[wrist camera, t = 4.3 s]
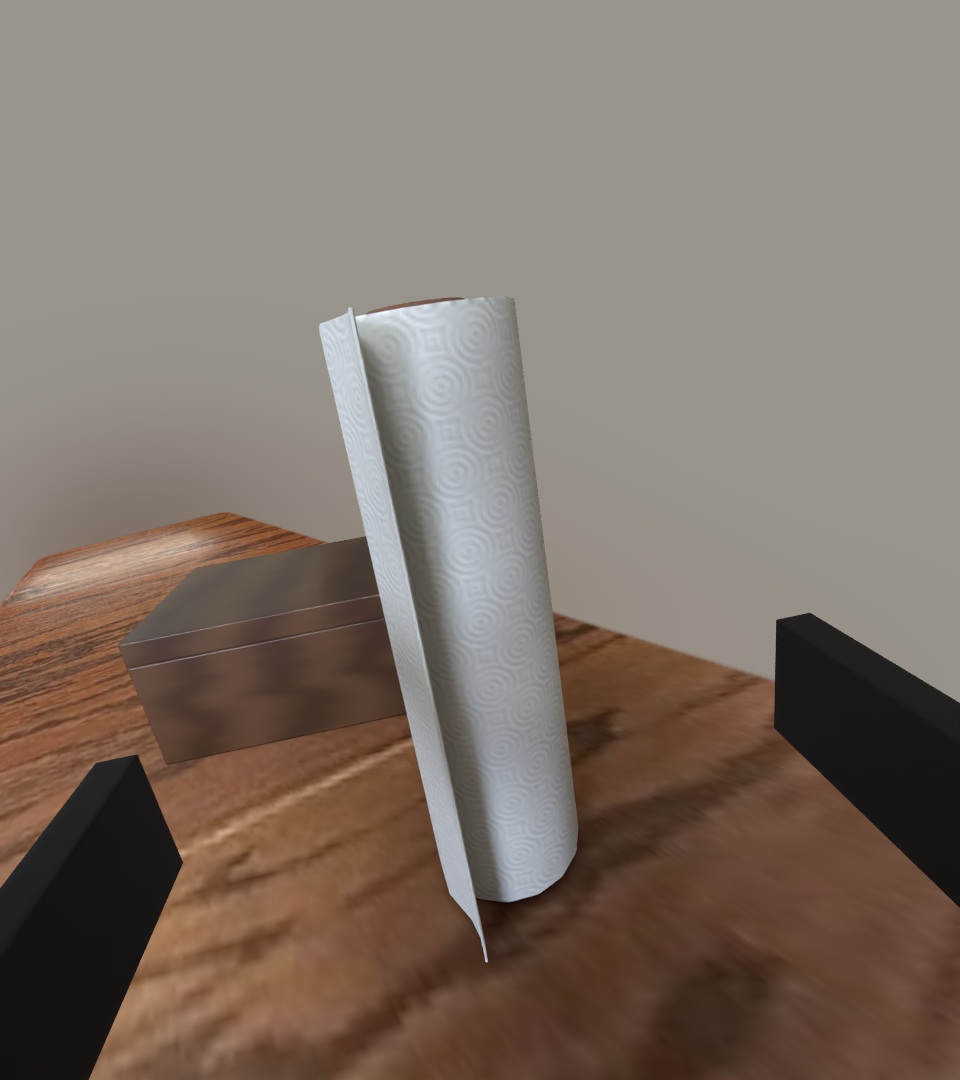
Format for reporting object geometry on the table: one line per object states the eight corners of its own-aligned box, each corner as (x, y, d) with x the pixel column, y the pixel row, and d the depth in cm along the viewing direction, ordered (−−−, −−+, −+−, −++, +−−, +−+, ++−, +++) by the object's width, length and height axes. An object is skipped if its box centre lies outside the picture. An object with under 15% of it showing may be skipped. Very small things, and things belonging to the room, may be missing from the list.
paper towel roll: (506, 769, 28) (430, 314, 21) (609, 831, 23) (554, 283, 17) (388, 868, 23) (244, 332, 17) (487, 967, 19) (346, 296, 12)
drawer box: (427, 621, 45) (408, 528, 42) (436, 707, 34) (411, 587, 31) (227, 661, 44) (195, 567, 41) (166, 765, 32) (116, 645, 30)
